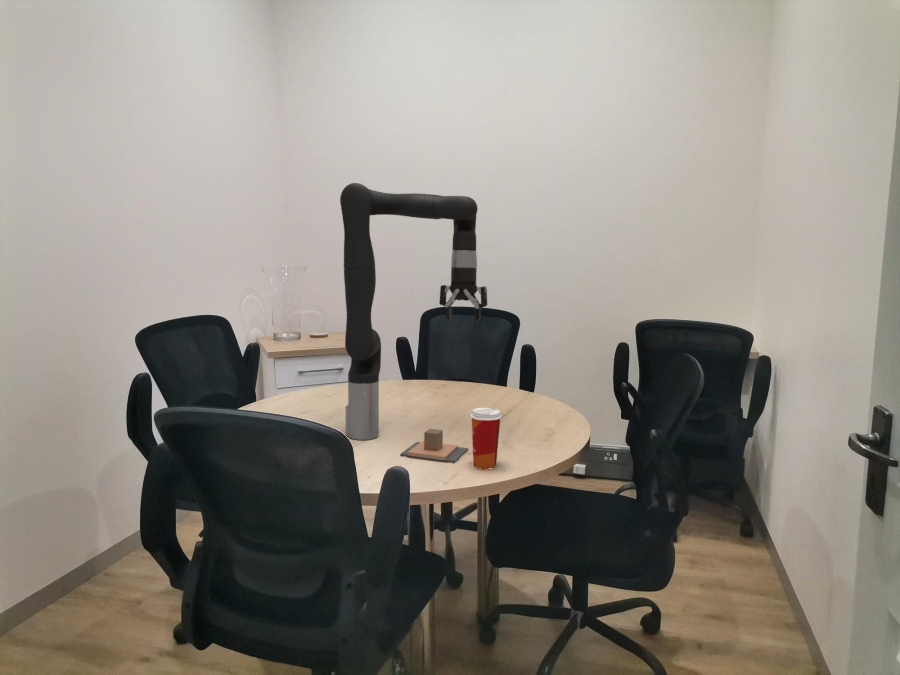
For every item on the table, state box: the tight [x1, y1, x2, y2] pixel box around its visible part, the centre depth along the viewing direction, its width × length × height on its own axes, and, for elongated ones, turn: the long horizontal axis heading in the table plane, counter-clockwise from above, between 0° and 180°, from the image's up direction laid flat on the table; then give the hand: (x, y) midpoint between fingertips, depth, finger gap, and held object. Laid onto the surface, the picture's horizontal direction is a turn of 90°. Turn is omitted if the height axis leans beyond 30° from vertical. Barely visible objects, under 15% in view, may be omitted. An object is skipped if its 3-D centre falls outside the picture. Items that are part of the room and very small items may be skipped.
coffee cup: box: [469, 407, 502, 470], centre depth 163 cm, size 8×8×15 cm
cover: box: [408, 428, 459, 460], centre depth 172 cm, size 11×11×6 cm
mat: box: [399, 441, 469, 464], centre depth 174 cm, size 16×12×1 cm
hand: (462, 320), depth 184 cm, fingers open, 8 cm apart
